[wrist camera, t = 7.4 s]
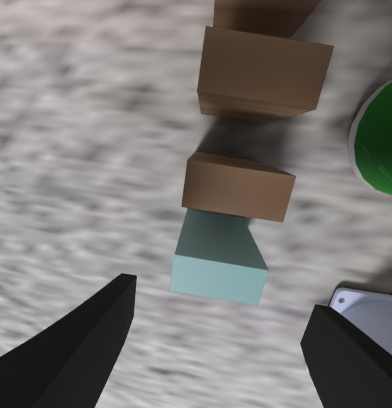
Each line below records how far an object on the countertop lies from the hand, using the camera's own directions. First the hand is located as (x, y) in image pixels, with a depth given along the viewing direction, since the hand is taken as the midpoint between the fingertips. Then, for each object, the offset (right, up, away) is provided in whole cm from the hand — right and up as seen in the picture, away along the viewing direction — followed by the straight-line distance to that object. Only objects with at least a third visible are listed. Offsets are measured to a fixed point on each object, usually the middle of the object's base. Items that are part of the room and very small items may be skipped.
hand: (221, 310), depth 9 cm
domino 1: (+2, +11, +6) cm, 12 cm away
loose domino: (0, +3, +8) cm, 9 cm away
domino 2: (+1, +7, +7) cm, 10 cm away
